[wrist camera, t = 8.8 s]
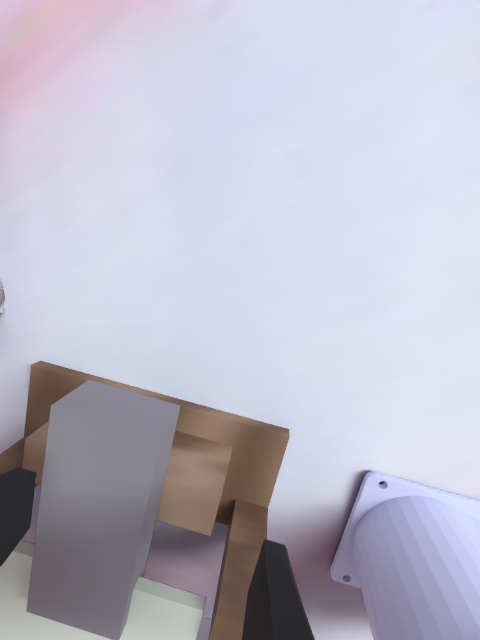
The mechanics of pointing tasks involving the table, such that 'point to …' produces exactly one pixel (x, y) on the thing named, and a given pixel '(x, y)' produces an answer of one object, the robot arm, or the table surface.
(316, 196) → the table surface
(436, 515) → the robot arm
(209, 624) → the granite cube
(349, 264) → the table surface
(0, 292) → the stone
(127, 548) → the trapdoor
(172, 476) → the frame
